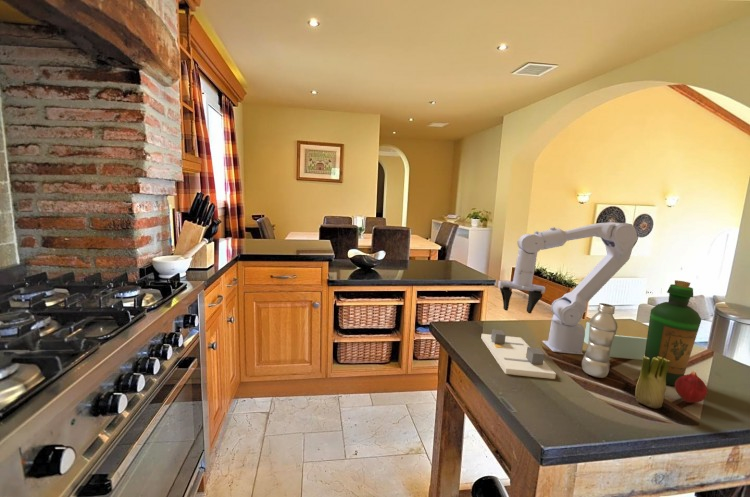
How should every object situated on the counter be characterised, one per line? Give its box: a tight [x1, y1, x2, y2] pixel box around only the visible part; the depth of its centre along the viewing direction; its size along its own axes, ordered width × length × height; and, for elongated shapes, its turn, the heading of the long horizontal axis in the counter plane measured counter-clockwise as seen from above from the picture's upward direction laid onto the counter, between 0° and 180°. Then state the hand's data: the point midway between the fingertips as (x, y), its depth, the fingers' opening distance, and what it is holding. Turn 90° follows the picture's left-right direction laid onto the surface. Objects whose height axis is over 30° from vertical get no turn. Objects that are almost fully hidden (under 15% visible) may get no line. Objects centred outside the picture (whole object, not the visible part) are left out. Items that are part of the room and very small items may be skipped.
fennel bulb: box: [634, 356, 670, 410], centre depth 81 cm, size 6×5×12 cm
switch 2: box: [526, 346, 545, 365], centre depth 95 cm, size 3×4×3 cm
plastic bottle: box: [581, 303, 619, 379], centre depth 93 cm, size 6×7×20 cm
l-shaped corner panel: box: [584, 321, 647, 361], centre depth 114 cm, size 12×12×8 cm
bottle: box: [644, 280, 702, 386], centre depth 94 cm, size 11×11×28 cm
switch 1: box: [490, 328, 507, 344], centre depth 107 cm, size 3×4×3 cm
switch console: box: [480, 333, 557, 380], centre depth 102 cm, size 13×24×2 cm, turn 178°
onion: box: [674, 370, 708, 404], centre depth 83 cm, size 6×6×8 cm
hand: (517, 311), depth 112 cm, fingers open, 7 cm apart
